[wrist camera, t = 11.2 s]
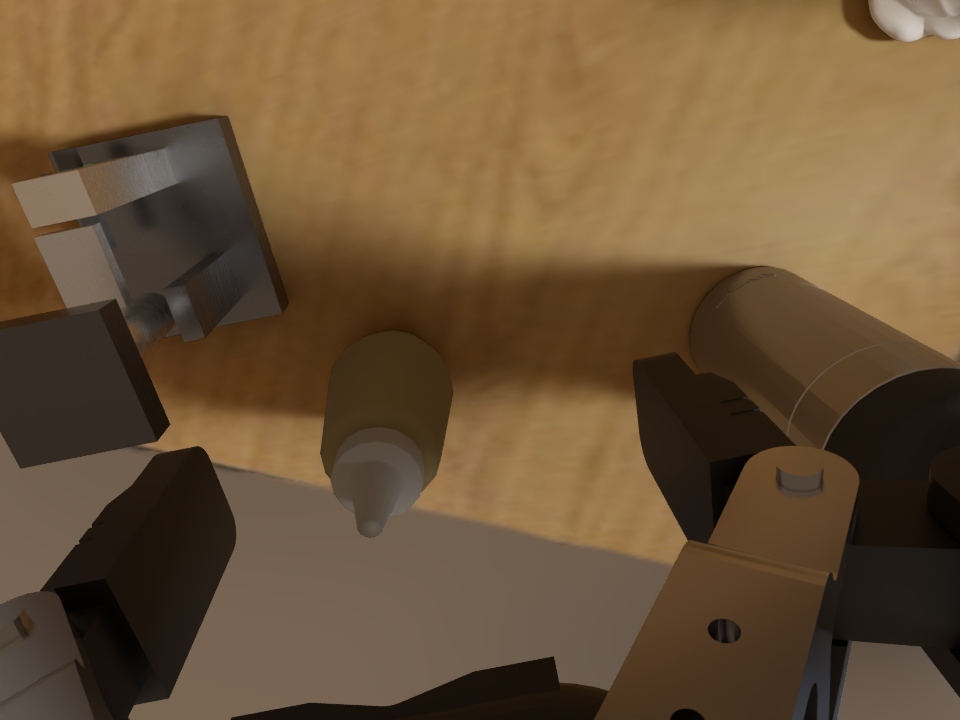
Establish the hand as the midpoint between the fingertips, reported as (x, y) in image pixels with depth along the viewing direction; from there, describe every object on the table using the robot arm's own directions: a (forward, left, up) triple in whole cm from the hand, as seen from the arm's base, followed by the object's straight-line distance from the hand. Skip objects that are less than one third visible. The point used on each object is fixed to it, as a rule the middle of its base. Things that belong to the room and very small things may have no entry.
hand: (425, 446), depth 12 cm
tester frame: (+6, +15, -32) cm, 36 cm away
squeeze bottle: (-9, +9, -32) cm, 35 cm away
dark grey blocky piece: (+4, +16, -25) cm, 29 cm away
